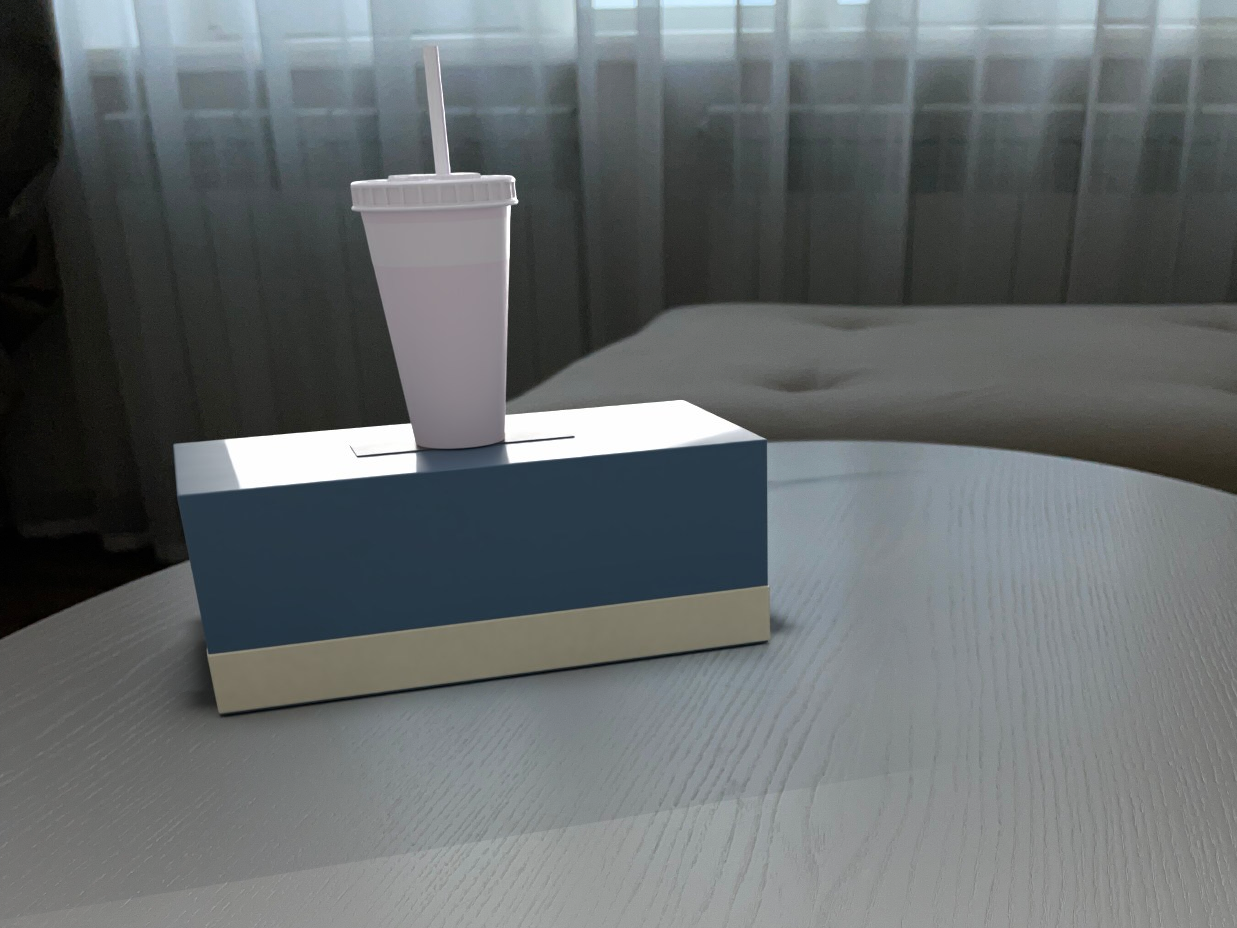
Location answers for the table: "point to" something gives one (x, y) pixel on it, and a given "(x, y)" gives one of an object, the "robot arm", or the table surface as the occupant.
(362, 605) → the tissue box
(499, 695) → the table surface
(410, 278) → the smoothie
